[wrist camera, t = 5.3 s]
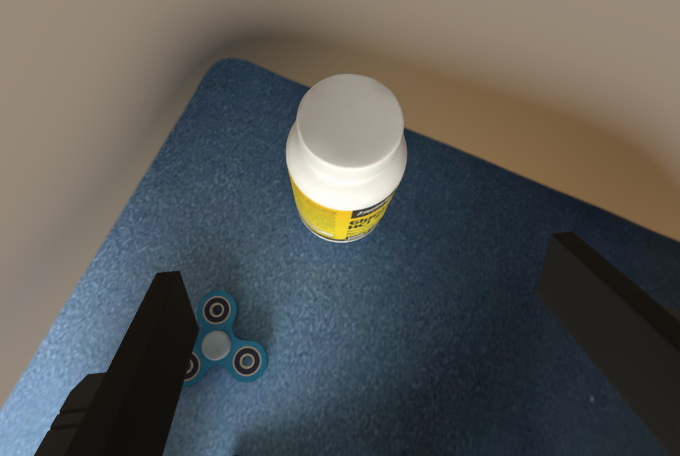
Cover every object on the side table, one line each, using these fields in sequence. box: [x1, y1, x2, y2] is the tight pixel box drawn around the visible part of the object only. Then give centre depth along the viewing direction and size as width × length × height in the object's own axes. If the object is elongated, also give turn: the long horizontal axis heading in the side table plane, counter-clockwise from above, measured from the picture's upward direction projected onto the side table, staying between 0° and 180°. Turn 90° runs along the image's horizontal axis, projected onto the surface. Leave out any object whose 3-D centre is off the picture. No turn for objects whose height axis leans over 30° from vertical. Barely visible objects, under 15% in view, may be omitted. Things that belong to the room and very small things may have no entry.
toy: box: [182, 290, 268, 387], centre depth 24 cm, size 6×6×1 cm
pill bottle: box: [286, 73, 407, 242], centre depth 22 cm, size 6×6×11 cm
